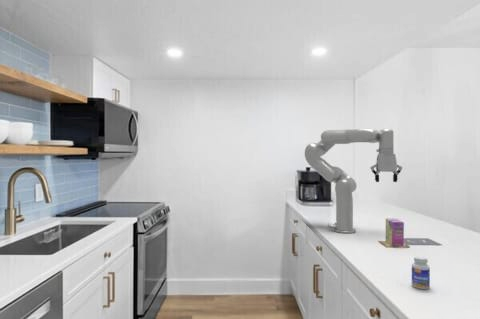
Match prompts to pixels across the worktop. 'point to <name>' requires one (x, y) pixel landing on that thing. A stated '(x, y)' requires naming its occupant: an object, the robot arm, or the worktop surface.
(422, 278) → the pill bottle
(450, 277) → the worktop surface
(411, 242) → the tile
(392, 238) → the box
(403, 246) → the wooden pad
